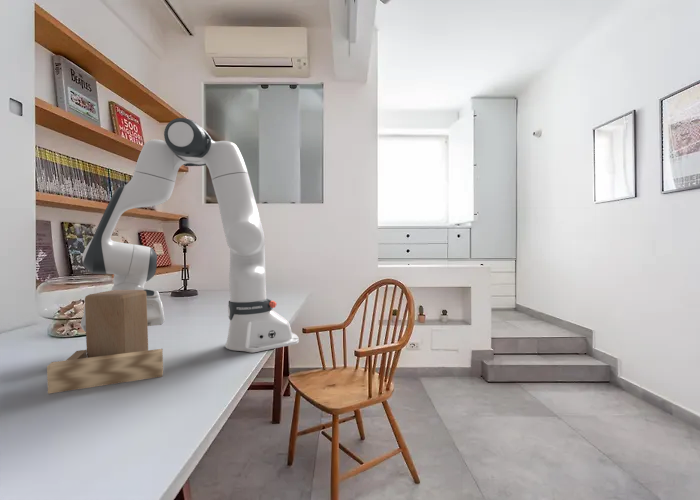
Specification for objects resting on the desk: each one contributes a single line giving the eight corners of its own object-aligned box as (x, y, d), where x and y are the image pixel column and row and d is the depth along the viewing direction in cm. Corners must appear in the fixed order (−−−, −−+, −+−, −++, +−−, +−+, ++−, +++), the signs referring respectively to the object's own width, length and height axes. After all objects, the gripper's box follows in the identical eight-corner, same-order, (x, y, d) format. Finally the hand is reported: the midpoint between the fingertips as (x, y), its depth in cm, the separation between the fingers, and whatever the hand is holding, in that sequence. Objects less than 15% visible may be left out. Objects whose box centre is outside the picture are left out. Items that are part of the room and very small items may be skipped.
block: (123, 376, 86) (120, 294, 85) (85, 375, 87) (82, 295, 86) (150, 362, 96) (148, 289, 95) (116, 361, 97) (113, 289, 96)
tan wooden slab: (165, 362, 96) (165, 340, 95) (162, 376, 86) (161, 352, 85) (65, 376, 87) (64, 352, 87) (48, 393, 77) (46, 366, 77)
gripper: (83, 295, 100) (73, 338, 91) (164, 290, 108) (162, 329, 99) (88, 308, 104) (79, 350, 96) (165, 303, 112) (164, 341, 104)
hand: (122, 340), depth 98 cm, fingers closed
